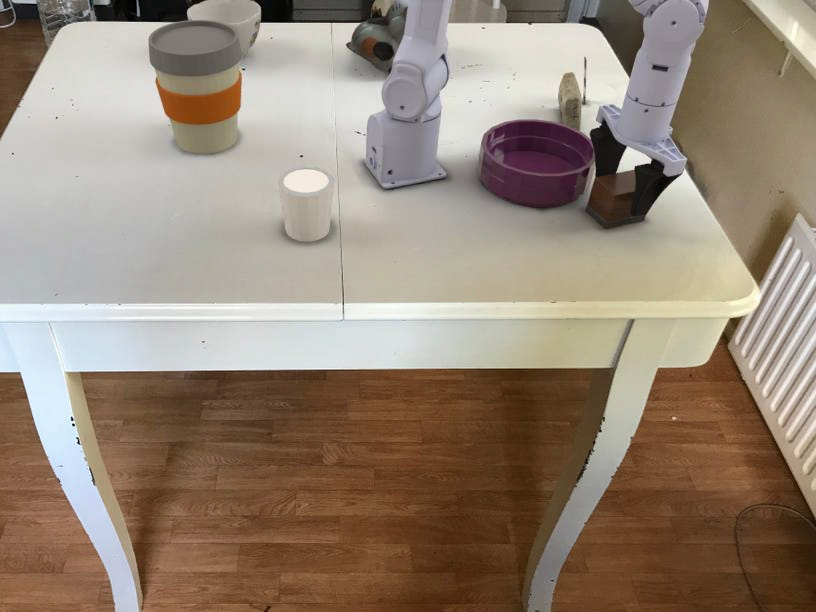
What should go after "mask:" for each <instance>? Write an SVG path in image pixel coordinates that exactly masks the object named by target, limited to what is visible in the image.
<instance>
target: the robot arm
mask: <svg viewBox="0 0 816 612" xmlns="http://www.w3.org/2000/svg"><path fill="white" fill-rule="evenodd" d="M627 1H628V2H629V4H630V5H631V6H632V8H633V9H634V11H636V12H637V13H639V14H641V15H642V16H644V18H643V22H642V30H643V34H644V36H643V40H642V45H641V47H640V48H639V49H638V51H637V52H636V55H635V60H634V63H633V66H632V70H631V73H630V78H629V80H628V84H627V88H626V92H625V94H624V98H623V102H622V106H621V107H619V106H617V105H615V104H614V103H609V104H604V105H599V106H598V110H597V114H596V117H595V121H596V122H597V123H599V124H600V125H599V126H598V127H596V128H595V127H594V128H592V129H591V130H589V135H588V137H589V138H590V139H591V141H592V144H593V149H594V154H595V169H594V173H595V175H594V176H595V177H600V176H605V175H610V174H615V173H618V169H619V167H620V166H619V165H621V161H622V158H623V156H624V154H625V152H626V150H627V148H630V149H632V150H635V151H637V152H638V153H641V154H643V155H645V156H646V157H648V158H649V159H650V162H647V163H643V164H638V165H635V166H634V168H633V170H634V171H635V179H636V183H635V193H634V197H633V201H632V205H631V215H632V216H634V217H636V216H640V215H645V214H646V215H648V213H649V212H650V209H651V208H652V207H653V205H654V204H655V203H656V201H657V200H658V199H659V197H660V196H661V195H662V193H663V192H664V191H666V189H667V188H668V187H669V186H671V184H672V183H673V182H674V181H676V180H677V179H678V178H679V177H681V176H682V175H683V174H684V171H685V167H686V164H687V161H688V158H687V157H686V156H684V154H683V153H682V152H681V151H680V150H679V148H678V147H677V145H676V144H675V142H674V140H673V139H672V137H671V135H672V134H673V130H674V128H673V127H672V126H670V125H671V122H672V119H673V116H674V113H675V110H676V107H677V104H678V101H679V99H680V95H681V93H682V90H683V86H684V84H685V81H686V78H687V74H688V71H689V69H690V65H691V62H692V56H691V55H692V54H693V53H694V50H695V47H696V43H697V40H698V39H700V37H701V36H702V34H703V32H704V30H705V22H706V17H707V14H708V9H709V5H710V0H627ZM452 2H453V0H409V4H408V11H407V17H406V24H405V31H404V36H403V39H402V41H401V43H400V46H399V48H398V50H397V52H396V55H395V57H394V60H393V65H392V70H391V73H390V74H389V75H388V76H387V77H386V79H385V80H384V82H383V84H382V87H381V92H380V93H381V101H382V104H383V106H384V108H383V109H382V110H381V111H378V112H376V113H373V114H371V115H369V117H368V119H367V123H366V142H365V143H366V144H365V158H364V159H363V163H364V165H366V167H367V168H368V170H369V171H370V173H371V174H372V175H373V177H375V179H376V180H377V182H378V183H379V185H380V186H381V187H382V189H385V190H388V189H395V188H399V187H405V186H408V185H414V184H419V183H425V182H429V181H430V182H431V181H435V180H440V179H445V178H447V176H448V174H447V172H446V171H445V169H444V168H443V167H442V166H441V165H440V164H439V163H438V161H437V159H438V158H437V156H438V149H439V148H438V147H439V139H440V127H441V120H442V110H443V105H442V102H441V98H440V97H441V96H440V94H441V93H440V92H441V91H443V89H444V88H445V87H446V86H447V84H448V83H449V80H450V77H451V68H450V67H451V66H450V62H449V59H448V49H449V40H448V37H447V30H448V24H449V18H450V13H451V9H452ZM595 177H594V178H595Z"/></svg>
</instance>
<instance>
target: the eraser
mask: <svg viewBox="0 0 816 612" xmlns="http://www.w3.org/2000/svg"><path fill="white" fill-rule="evenodd" d="M635 183H636V179H635V171H634V169H629V170H625V171H620V172H616V173H615V174H610V175H605V176H600V177H594V178H593V183H592V186H591V190H590V193H589V197H588V201H587V205H586V208H585V213H587V214H588V215H589V216H590V217H591V218H592V219H593V220H594V221H595V222H596V223H598V225H600V227H602V228H603V229H604V230H607V229H612V228H616V227H620V226H621V227H622V226H625V225H630V224H633V223H639V222H643V221H645V220H646V218H647V214H645V215H640V216H636V217H634V216H632V215H631V205H632V201H633V197H634V193H635Z"/></svg>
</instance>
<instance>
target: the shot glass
mask: <svg viewBox="0 0 816 612" xmlns="http://www.w3.org/2000/svg"><path fill="white" fill-rule="evenodd" d="M277 188H278V194H279V200H280V205H281V212H282V217H283V224H284V229H285V232H286V235H287V236H288V237H290V238H291V239H293V240H295V241H299V242H308V243H309V242H315V241H319V240H321V239H323V238H326V236H327V235H328V234H329V232H330V228H331V218H332V208H333V197H334V188H335V178H334V176H333V174H332V173H331V172H329V171H328V170H326V169H324V168H321V167H316V166H305V165H304V166H298V167H293V168H290V169H288V170H285V171H284V172H282V173H281V174H280V175H279V177H278V180H277Z"/></svg>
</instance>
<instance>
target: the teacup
mask: <svg viewBox="0 0 816 612" xmlns="http://www.w3.org/2000/svg"><path fill="white" fill-rule="evenodd" d="M186 15H187V21H188V20H210V21H217V22H221V23H225V24H228V25H230V26H231V27H233V28H234V29H235V30H236V31H237V33H238V37H239V42H240V47H241V52H242V58H241V60H242V59H243V58H244V57H245V56H246V55H247V53H248V52H249V51H250V50H251V49H252V48H253V46H254V45H255V42H256V40H257V38H258V36H259V33H260V27H261V20H262V7H261V6H260V4H259V3H257V2H256V1H255V0H203V1H201V2H199V3H195V4H193V5H192V6H191V7H189V8H188V9H187V10H186Z"/></svg>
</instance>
